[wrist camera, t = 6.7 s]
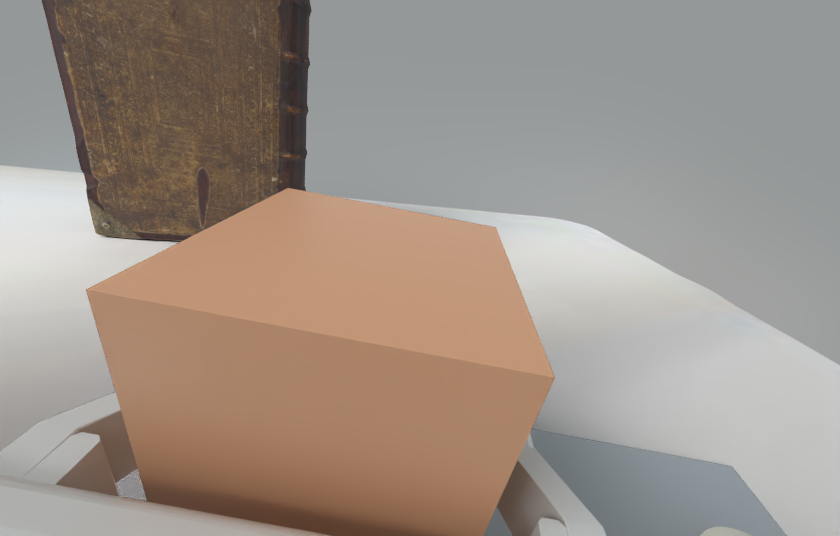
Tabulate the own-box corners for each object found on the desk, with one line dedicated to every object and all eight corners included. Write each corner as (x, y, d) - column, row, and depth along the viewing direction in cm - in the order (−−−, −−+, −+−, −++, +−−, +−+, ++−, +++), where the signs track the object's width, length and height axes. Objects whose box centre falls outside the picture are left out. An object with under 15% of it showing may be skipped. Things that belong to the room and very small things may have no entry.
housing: (187, 636, 9) (84, 289, 5) (287, 434, 15) (288, 187, 10) (418, 679, 9) (554, 376, 5) (429, 460, 15) (495, 227, 10)
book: (309, 235, 38) (320, -61, 27) (292, 263, 31) (296, -110, 20) (144, 212, 35) (82, -119, 25) (89, 237, 29) (-26, -194, 18)
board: (110, 844, 7) (-15, 752, 4) (313, 401, 18) (319, 287, 15) (1123, 1024, 7) (1707, 1062, 4) (721, 478, 18) (808, 379, 15)
